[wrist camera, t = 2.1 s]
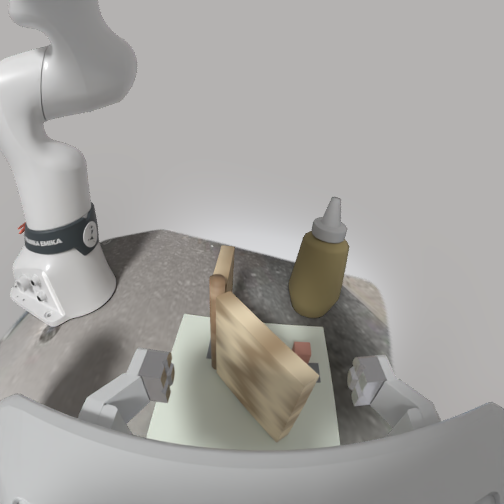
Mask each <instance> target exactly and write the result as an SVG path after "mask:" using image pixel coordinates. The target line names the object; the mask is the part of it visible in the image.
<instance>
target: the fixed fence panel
mask: <svg viewBox="0 0 504 504" xmlns="http://www.w3.org/2000/svg"><path fill="white" fill-rule="evenodd" d="M234 251H235V247H233V246H223V245H222V246H221V250H220V253H219V257H218V260H217V263H216V267H215V270H214V274H221V275H223V276H224V277H225V293H226V292H229V291H231V292H232V286H233V268H234ZM214 274H213V275H214Z"/></svg>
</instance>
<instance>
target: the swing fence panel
mask: <svg viewBox="0 0 504 504" xmlns="http://www.w3.org/2000/svg"><path fill="white" fill-rule="evenodd" d="M210 333H211V362H212V368H213V369H215V370H217V374H218V375H219V376H220V378H221V379H222V380H223V381H224V383H225V384H226V385H227V386H228V388H229V389H230V390H231V391H232V393H233V394H234V395H235V396H236V397H237V399H238V400H239V401H240V402H241V403H242V404H243V406H244V407H245V408H246V409H247V410H248V411H249V413H250V414H251V415H252V416H253V417H254V418H255V419H256V421H257V422H258V423H259V424H260V425H261V426H262V427H263V428H264V429H265V431H266V432H267V433H268V434H269V435H270V436H271V437H272V438H273V439H274V440H275V441H276V442H278V441H279V440H281V439H282V438H284V437H285V436H287V435H288V433H289V432H290V430H291V428H292V427H293V425H294V423H295V421H296V420H297V418H298V416H299V414H300V412H301V410H302V409H303V407H304V405H305V403H306V401H307V399H308V397H309V395H310V394H311V392H312V390H313V388H314V386H315V384H316V382H317V380H318V378H319V376H320V375H318V374H317V373H316V372H315V371H314V370H313V369H312V368H311V367H310V366H309V365H307V364H306V363H305V362H304V361H303V360H302V359H301V358H300V357H299V356H298V355H297V354H295V353H294V352H293V351H292V350H291V349H290V348H289V347H288V346H287V345H286V344H285V343H284V342H283V341H282V340H280V339H279V338H278V337H277V336H276V335H275V334H274V333H273V332H272V331H271V330H270V329H269V328H268V327H267V326H266V325H265V324H264V323H263V322H262V321H261V320H259V319H258V318H257V317H256V316H255V315H254V314H253V313H252V312H251V311H250V310H249V309H248V308H247V307H246V306H245V305H244V304H243V303H242V302H241V301H240V300H239V299H238V298H237V297H236V296H235V295H234V294H233V293H232V292H231V291H229V292H226V293H225V277H224V276H223V275H221V274H214V275H212V276H210Z"/></svg>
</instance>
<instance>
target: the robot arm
mask: <svg viewBox="0 0 504 504" xmlns="http://www.w3.org/2000/svg"><path fill="white" fill-rule="evenodd" d="M8 12H9V15H10V17H11V19H12V20H13V21H14V22H15V23H16V24H17V25H19V26H22V27H26V28H31V29H36V30H39V31H41V32H43V33H44V34H45V35H46V36H47V37H48V39H49V40H50V42H51V45H49V46H46V47H41V48H37V49H33V50H30V51H26V52H23V53H19V54H16V55H13V56H10V57H7V58H5V59H3V60H1V61H0V151H1V152H2V154H3V155H4V157H5V158H6V160H7V162H8V163H9V165H10V167H11V170H12V172H13V175H14V178H15V181H16V185H17V189H18V193H19V197H20V200H21V204H22V208H23V212H24V216H25V220H26V222H25V223H24V224H23V225H21V226H20V227H19V228H18V229H20V228H22V227H23V226H24V228H23V229H22V230H21V231H20V232H19V234H21V233H23V232H24V231H25V245H24V247H23V248H22V250H21V251H20V253H19V255H18V256H17V258H16V260H15V261H14V264H13V274H14V277H15V280H16V282H15V283H14V285H13V287H12V289H11V292H10V296H11V299H12V300H13V301H14V302H15V303H17V304H18V305H20V306H21V307H22V308H24V309H25V310H27V311H28V312H30V313H31V314H32V315H34V316H35V317H37V318H38V319H40V320H42V321H43V322H45V323H46V324H48V325H49V326H52V327H55V326H58V325H60V324H62V323H64V322H65V321H67V320H69V319H71V318H75V317H79V316H83V315H86V314H88V313H91V312H93V311H94V310H96V309H98V308H99V307H101V306H102V305H103V304H104V303H106V302H107V301H108V300H109V298H110V297H111V296H112V294H113V292H114V290H115V287H116V278H115V276H114V274H113V272H112V271H111V269H110V267H109V265H108V263H107V261H106V259H105V256H104V254H103V251H102V248H101V245H100V242H99V239H98V226H97V219H96V214H95V209H94V205H93V203H92V202H91V200H90V194H89V193H90V192H89V184H88V176H87V165H86V160H85V158H84V156H83V154H82V153H81V151H79V150H78V149H77V148H76V147H74V146H71V145H69V144H66V143H63V142H59V141H55V140H53V139H50V138H49V137H48V136H47V134H46V133H45V130H44V126H43V123H44V122H45V121H47V120H50V119H55V118H59V117H64V116H69V115H74V114H80V113H85V112H91V111H94V110H96V109H100V108H103V107H106V106H109V105H111V104H114V103H117V102H120V101H121V100H122V99H123V98H124V97H125V96H126V95H127V93H128V91H129V90H130V89H131V87H132V85H133V83H134V80H135V77H136V73H137V60H136V56H135V53H134V51H133V49H132V47H131V46H130V45H129V44H128V43H127V42H126V41H125V40H124V39H122V38H120V37H119V36H118V35H116V34H115V33H114V32H113V31H112V30H111V29H110V28H109V27H108V25H107V24H106V23H105V21H104V19H103V17H102V15H101V12H100V9H99V5H98V0H9V10H8ZM171 361H172V355H171V353H170V352H164V351H157V350H151V349H145V348H138V349H137V350H136V352H135V354H134V356H133V359H132V361H131V363H130V366H129V368H128V371H127V373H123V374H121V375H120V376H118V377H117V378H115V379H114V380H112V381H111V382H109V383H108V384H106V385H105V386H103V387H102V388H100V389H99V390H97V391H96V392H94V393H93V394H91V395H90V396H88V397H87V398H86V400H85V402H84V405H83V407H82V409H81V411H80V414H79V416H78V418H75V417H72V416H70V415H67V414H64V413H62V412H59V411H57V410H55V409H52V408H50V407H48V406H45V405H43V404H41V403H39V402H36V401H34V400H32V399H30V398H28V397H26V396H24V395H22V394H14V395H11V396H9V397H6V398H4V399H2V400H0V504H504V409H503V408H502V407H500V406H499V405H497V404H495V403H493V402H489V403H486V404H484V405H481V406H479V407H477V408H475V409H472V410H470V411H468V412H465V413H463V414H460V415H458V416H455V417H453V418H450V419H447V420H444V421H441V420H440V418H439V416H438V413H437V411H436V409H435V406H434V404H433V403H432V402H431V401H430V400H428V399H427V398H425V397H424V396H423V395H421V394H420V393H418V392H417V391H416V390H414V389H413V388H412V387H410V386H409V385H407V384H406V383H404V382H403V381H402V380H400V379H397V378H396V376H395V373H394V371H393V369H392V367H391V365H390V363H389V361H388V358H387V356H386V355H376V356H364V357H356V358H355V359H354V360H353V362H352V363H353V367H352V368H350V369H349V372H348V375H347V383H348V387H349V389H351V390H352V391H353V392H352V394H351V398H352V401H353V404H354V406H362V405H370V404H371V405H370V406H371V407H372V408H373V409H374V410H375V411H376V412H377V413H378V414H379V415H380V416H381V417H382V418H383V419H384V420H385V421H386V422H387V423H388V424H389V425H390V426H391V427H392V428H393V429H392V430H391V431H390V432H389V433H388V435H387V436H386V437H384V438H380V439H375V440H370V441H364V442H359V443H353V444H346V445H339V446H331V447H321V448H310V449H295V450H234V449H219V448H208V447H198V446H190V445H183V444H176V443H170V442H164V441H159V440H154V439H149V438H144V437H140V436H135V435H133V434H132V432H131V431H130V429H129V428H128V426H127V423H128V422H129V421H130V420H131V419H132V418H133V417H134V416H135V415H136V414H138V413H139V412H140V411H141V410H142V409H143V408H144V407H145V406H146V405H147V404H148V403H149V402H150V401H155V402H162V403H168V401H169V397H170V393H171V390H170V386H171V385H172V384H173V381H174V375H175V370H174V364H172V363H171Z"/></svg>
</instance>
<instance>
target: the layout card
mask: <svg viewBox="0 0 504 504" xmlns="http://www.w3.org/2000/svg"><path fill="white" fill-rule="evenodd" d="M264 324H265V325H266V326H267V327H268V328H269V329H270V330H271V331H272V332H273V333H274V334H275V335H276V336H277V337H278V338H279V339H280V340H282V341H283V342H284V343H285V344H286V345H287V346H288V347H289V348H290V349H291V350H292V351H293V352H294V353H295V354H297V355H298V356H299V357H300V358H301V359H302V360H303V361H304V362H305V363H306V364H307V365H309V366H310V367H311V368H312V369H313V370H314V371H315V372H316V373H317V374H318V375H320V376H319V378H318V380H317V382H316V384H315V386H314V388H313V390H312V392H311V394H310V395H309V397H308V399H307V401H306V403H305V405H304V407H303V409H302V410H301V412H300V414H299V416H298V418H297V420H296V421H295V423H294V425H293V427H292V428H291V430H290V432H289V433H288V435H287V436H285V437H284V438H282V439H281V440H279V441H278V442H276V441H275V440H274V439H273V438H272V437H271V436H270V435H269V434H268V433H267V432H266V431H265V429H264V428H263V427H262V426H261V425H260V424H259V423H258V422H257V421H256V419H255V418H254V417H253V416H252V415H251V414H250V413H249V411H248V410H247V409H246V408H245V407H244V406H243V404H242V403H241V402H240V401H239V400H238V399H237V397H236V396H235V395H234V394H233V393H232V391H231V390H230V389H229V388H228V386H227V385H226V384H225V383H224V381H223V380H222V379H221V378H220V376H219V375H218V374H217V370H215V369H213V368H212V362H211V333H210V317H204V316H197V315H189V314H184V316H183V319H182V322H181V325H180V328H179V331H178V334H177V337H176V340H175V343H174V346H173V349H172V352H171V355H172V361H171V363H172V364H174V370H175V375H174V381H173V384H172V385H171V386H170V390H171V393H170V397H169V401H168V403H162V402H156V405H155V408H154V412H153V415H152V419H151V423H150V426H149V430H148V433H147V437H146V438H149V439H154V440H159V441H164V442H170V443H176V444H183V445H190V446H198V447H208V448H219V449H234V450H295V449H310V448H321V447H331V446H339V445H340V440H339V431H338V423H337V415H336V407H335V400H334V392H333V385H332V379H331V372H330V366H329V360H328V353H327V348H326V342H325V336H324V330H323V327H314V326H297V325H283V324H270V323H264Z"/></svg>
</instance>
